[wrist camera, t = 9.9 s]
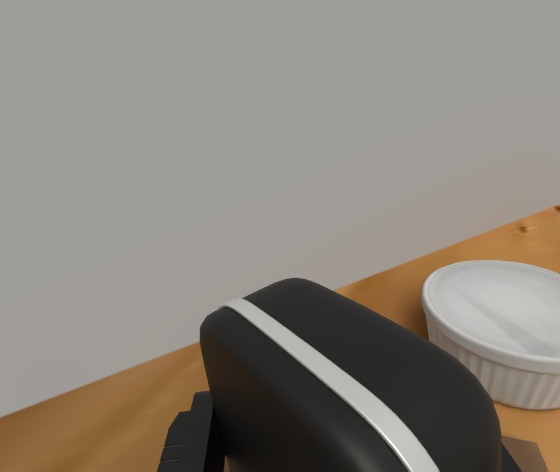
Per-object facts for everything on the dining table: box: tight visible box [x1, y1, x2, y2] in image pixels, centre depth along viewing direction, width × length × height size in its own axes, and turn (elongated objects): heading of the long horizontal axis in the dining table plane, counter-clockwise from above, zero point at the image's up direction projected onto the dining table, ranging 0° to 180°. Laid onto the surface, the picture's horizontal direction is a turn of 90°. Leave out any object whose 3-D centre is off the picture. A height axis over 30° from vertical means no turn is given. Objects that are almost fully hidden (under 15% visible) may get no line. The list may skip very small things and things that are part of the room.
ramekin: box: [421, 260, 560, 410], centre depth 23 cm, size 11×11×5 cm
